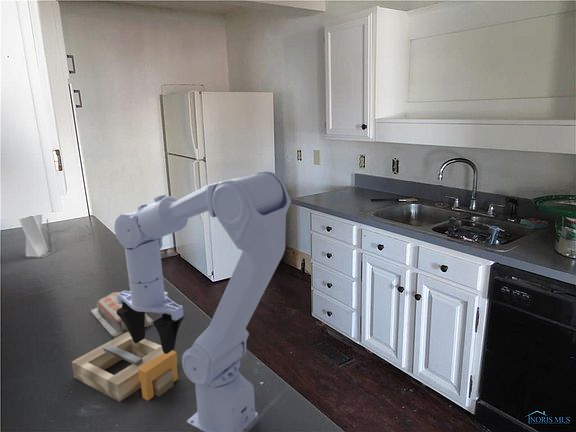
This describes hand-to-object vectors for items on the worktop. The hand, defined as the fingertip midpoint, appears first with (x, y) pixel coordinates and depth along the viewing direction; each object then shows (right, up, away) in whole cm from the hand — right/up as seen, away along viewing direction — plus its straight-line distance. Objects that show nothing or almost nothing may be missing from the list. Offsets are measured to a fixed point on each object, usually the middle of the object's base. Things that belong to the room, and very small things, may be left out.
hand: (153, 345), depth 79 cm
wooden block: (+1, -9, +2) cm, 9 cm away
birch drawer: (-8, -8, +7) cm, 14 cm away
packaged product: (-17, -3, +30) cm, 35 cm away
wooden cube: (+1, -9, +2) cm, 9 cm away
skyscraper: (-66, +10, +77) cm, 102 cm away
